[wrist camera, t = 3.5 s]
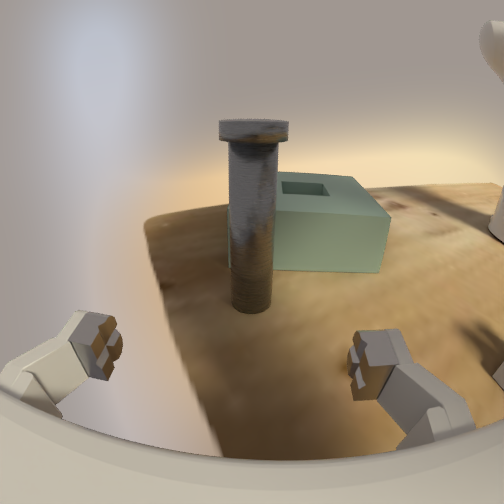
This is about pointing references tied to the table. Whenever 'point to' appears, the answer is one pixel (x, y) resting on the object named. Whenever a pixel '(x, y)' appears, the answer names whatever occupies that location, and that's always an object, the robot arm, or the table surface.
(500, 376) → the grey curved block
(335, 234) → the socket block
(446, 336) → the table surface
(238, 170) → the pin
